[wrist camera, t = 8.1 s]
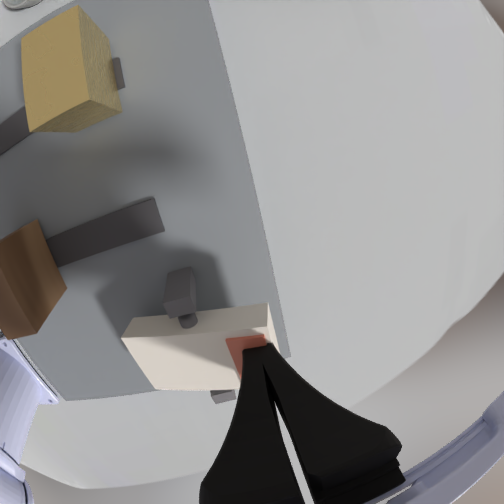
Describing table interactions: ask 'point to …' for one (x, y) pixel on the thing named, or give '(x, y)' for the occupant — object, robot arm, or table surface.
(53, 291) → the walnut knob
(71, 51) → the tan wooden block
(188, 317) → the rocker
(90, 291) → the console
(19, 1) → the ceramic mug
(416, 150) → the table surface
